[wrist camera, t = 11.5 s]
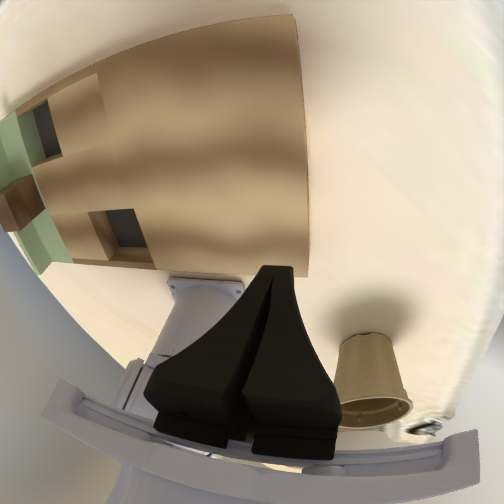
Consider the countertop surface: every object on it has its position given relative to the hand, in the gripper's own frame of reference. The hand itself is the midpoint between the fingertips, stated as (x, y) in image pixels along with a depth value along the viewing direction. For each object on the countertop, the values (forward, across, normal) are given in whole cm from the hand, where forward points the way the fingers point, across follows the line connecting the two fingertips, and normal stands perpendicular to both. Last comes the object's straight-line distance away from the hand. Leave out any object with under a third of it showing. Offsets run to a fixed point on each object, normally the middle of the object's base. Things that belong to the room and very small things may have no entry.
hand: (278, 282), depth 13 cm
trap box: (+9, +14, -3) cm, 17 cm away
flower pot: (+10, -8, +19) cm, 23 cm away
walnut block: (+7, +26, -3) cm, 27 cm away
